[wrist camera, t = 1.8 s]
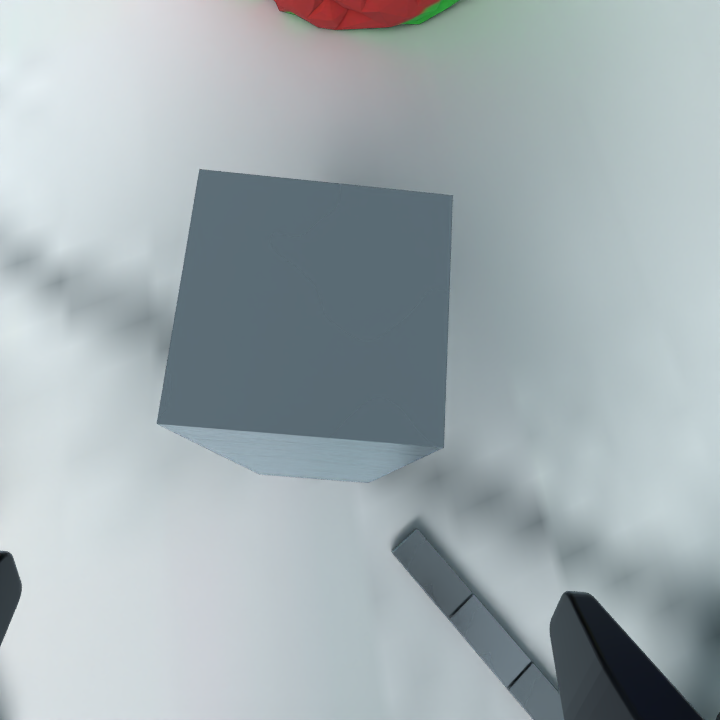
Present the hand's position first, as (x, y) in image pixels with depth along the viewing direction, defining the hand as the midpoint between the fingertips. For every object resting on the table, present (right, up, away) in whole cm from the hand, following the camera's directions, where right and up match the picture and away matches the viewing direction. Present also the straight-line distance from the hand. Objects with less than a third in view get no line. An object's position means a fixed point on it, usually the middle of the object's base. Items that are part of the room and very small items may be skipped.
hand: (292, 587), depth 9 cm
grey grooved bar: (+6, -7, +10) cm, 14 cm away
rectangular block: (0, +1, +12) cm, 12 cm away
